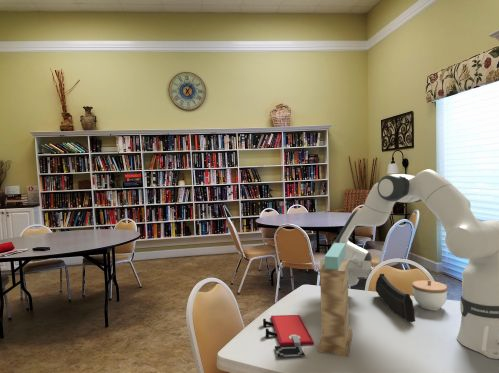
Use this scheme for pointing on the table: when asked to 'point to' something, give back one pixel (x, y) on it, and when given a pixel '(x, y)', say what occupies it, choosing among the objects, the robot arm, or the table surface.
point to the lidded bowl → (429, 294)
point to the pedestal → (335, 310)
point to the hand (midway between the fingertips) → (343, 260)
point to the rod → (335, 256)
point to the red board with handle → (289, 334)
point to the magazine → (395, 299)
